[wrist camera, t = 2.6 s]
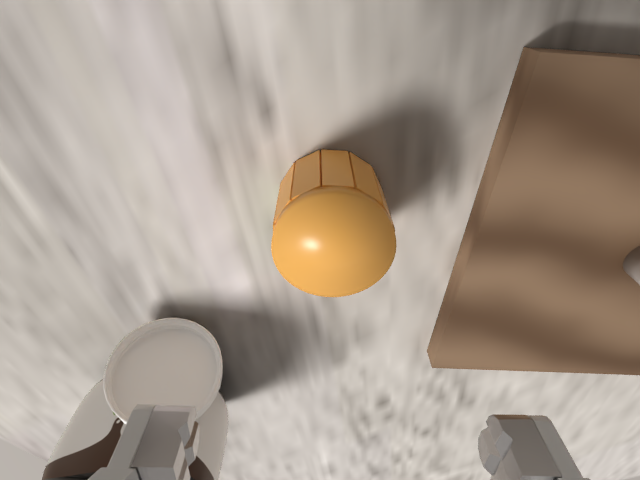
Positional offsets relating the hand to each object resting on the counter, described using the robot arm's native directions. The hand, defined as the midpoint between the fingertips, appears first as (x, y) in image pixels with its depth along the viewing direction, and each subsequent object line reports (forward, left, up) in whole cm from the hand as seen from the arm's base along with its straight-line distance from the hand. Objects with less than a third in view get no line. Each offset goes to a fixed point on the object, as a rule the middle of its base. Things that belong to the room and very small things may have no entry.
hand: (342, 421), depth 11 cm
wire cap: (0, 0, -13) cm, 13 cm away
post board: (+2, +18, -13) cm, 22 cm away
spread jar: (+15, -11, -13) cm, 22 cm away
